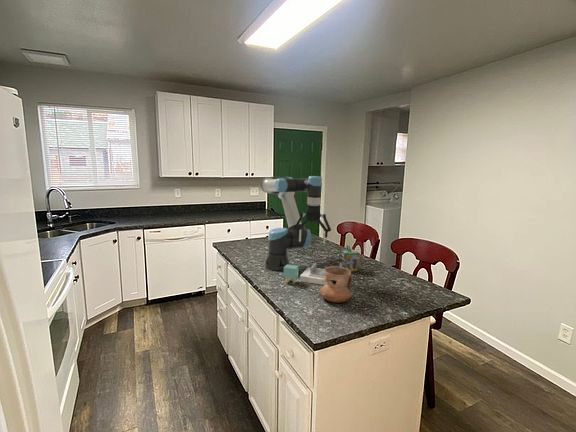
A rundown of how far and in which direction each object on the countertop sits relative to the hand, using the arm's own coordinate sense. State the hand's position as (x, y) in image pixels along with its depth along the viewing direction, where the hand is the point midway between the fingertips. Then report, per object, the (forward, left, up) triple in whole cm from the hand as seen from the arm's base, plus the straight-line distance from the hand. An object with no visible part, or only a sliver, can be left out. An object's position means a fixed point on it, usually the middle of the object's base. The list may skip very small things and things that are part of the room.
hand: (311, 242), depth 173 cm
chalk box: (+18, +19, -20) cm, 33 cm away
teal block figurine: (-7, -14, -19) cm, 25 cm away
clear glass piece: (+5, -3, -16) cm, 17 cm away
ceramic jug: (+20, -25, -20) cm, 38 cm away
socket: (+7, -3, -19) cm, 21 cm away
